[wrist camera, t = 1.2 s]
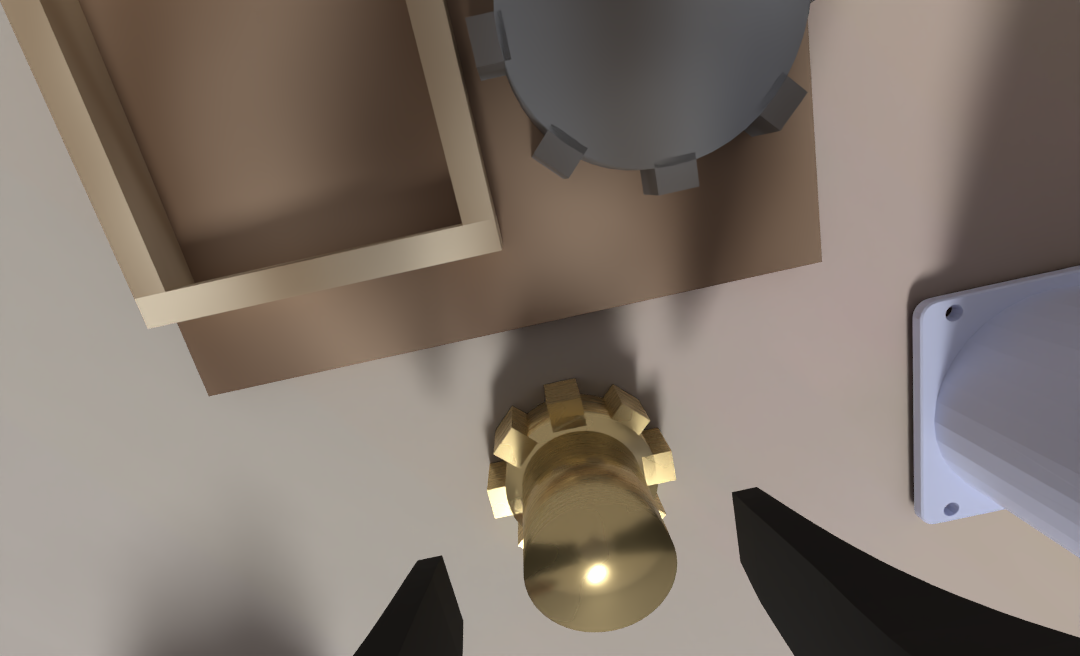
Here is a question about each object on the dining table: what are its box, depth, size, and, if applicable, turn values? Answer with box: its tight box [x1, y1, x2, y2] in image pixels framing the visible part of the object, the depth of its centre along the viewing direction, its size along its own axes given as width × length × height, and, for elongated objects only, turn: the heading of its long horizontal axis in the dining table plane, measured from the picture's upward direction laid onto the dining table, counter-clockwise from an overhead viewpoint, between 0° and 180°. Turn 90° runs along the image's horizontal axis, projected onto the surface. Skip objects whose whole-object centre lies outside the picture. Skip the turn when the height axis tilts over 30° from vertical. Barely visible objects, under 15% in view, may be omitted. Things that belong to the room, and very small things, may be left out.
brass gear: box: [487, 378, 677, 632], centre depth 14 cm, size 6×6×5 cm
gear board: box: [0, 0, 822, 396], centre depth 12 cm, size 18×14×2 cm
